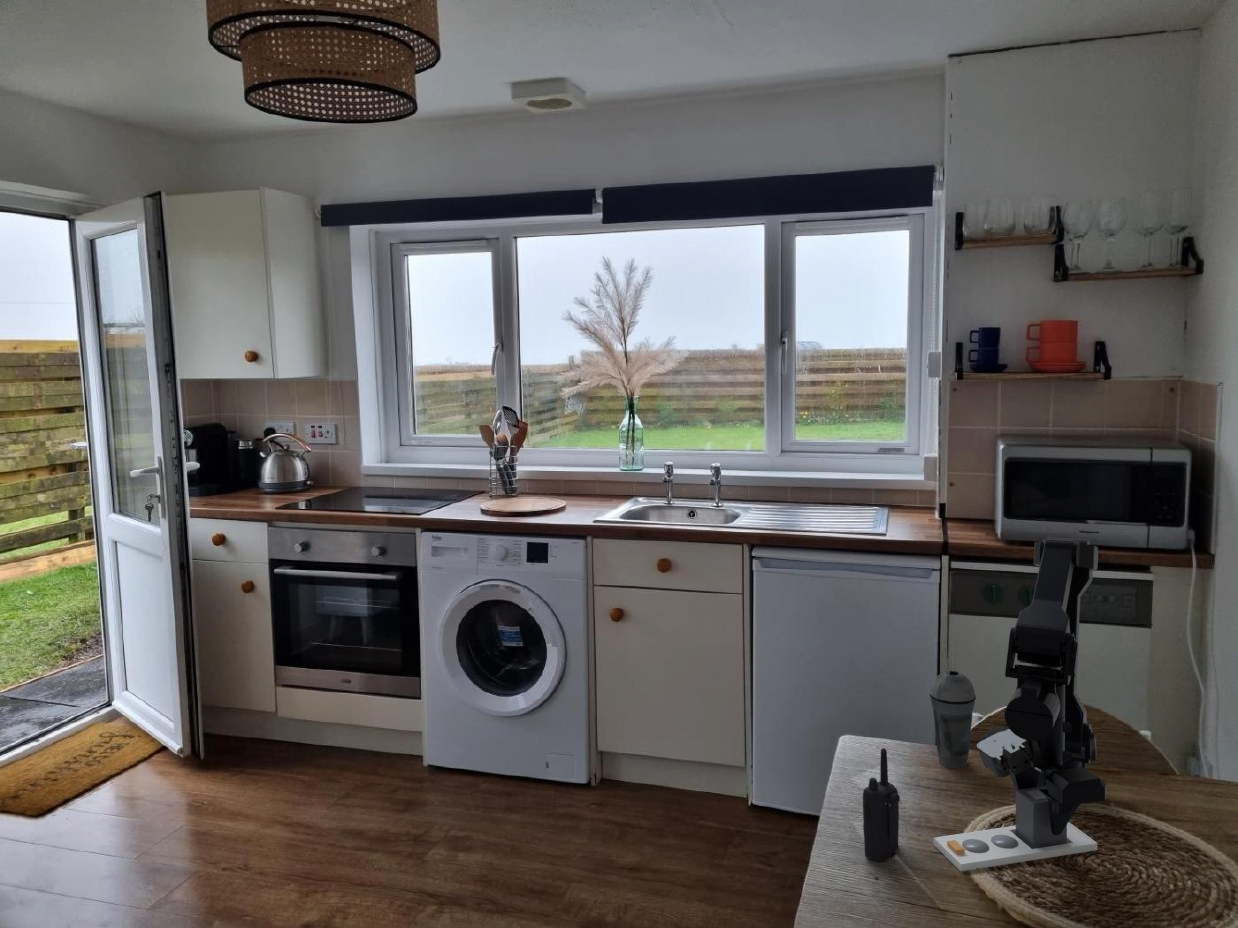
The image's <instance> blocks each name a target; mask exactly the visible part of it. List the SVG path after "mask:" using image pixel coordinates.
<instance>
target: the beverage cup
mask: <svg viewBox="0 0 1238 928" xmlns="http://www.w3.org/2000/svg"><path fill="white" fill-rule="evenodd" d="M942 649H943V650H942V651H943V657H944V663H945V664H944V666H945V671H943V672H940V674H938V675H937V676H936V677H935V678H934V679H933V681H932V683H931V686H930V687H931V688H930V692H929V697H930V703H931V706H932V707H931V708H932V709H933V719H934V721H933V722H934V730H935V739H936V740H935V741H936V753H937V757H938V762H939V764H940V765H942V766H944V767H947V768H951V769H952V768H953V769H961V768H965V767H967V765H968V759H969V754H970V744H971V743H970V741H971V733H972V732H971V731H972V730H971V729H972V720H973V711H974V707H975V701H976V700H977V699H976V696H977V695H976V694H975V689H974V688H975V687H974V686H973V683H972V681H971V680H970V679H969V678H968V677H967V676H966V675H965V674H963V673H961V672H958V671H956V670H951V669H950V666H949V665H950V664H949V658H948V657H949V656H948V649H947V646H946V645H943V646H942Z"/></svg>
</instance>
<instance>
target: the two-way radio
mask: <svg viewBox="0 0 1238 928" xmlns="http://www.w3.org/2000/svg"><path fill="white" fill-rule="evenodd" d="M887 751H888V750H887V749H886V748H884V747H883V748H881V749H880V763H879V765H880V766H879V767H880V773H879V774H880V775H879V776H880V780H879V781H878V779H877V778H875V777H871V778H869V781H868V786H867V787H865V788H864V789H863V792H862V815H863V816H862V817H863V819H862V820H863V828H862V829H863V841H864V856H865V857H866V858H868V859H869V860H871V861H874V862H875V861H876V862H882V861H886V860H889V859H891V858H892V857H894V856H896V855H897V853H896V851H897V850H898V849H899V828H900V827H899V824H900V823H899V822H900V821H899V820H900V819H899V818H900V817H899V816H900V815H899V814H900V808H899V807H900V806H899V805H900V804H899V803H900V800H901V796H900V795H899V793H898V789H897V787H896V786H895V785H894V784H893V783H890V782H889V774H888V771H889V770H888V769H889V768H888V767H889V766H888V752H887Z"/></svg>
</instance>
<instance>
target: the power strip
mask: <svg viewBox="0 0 1238 928" xmlns="http://www.w3.org/2000/svg"><path fill="white" fill-rule="evenodd" d="M933 845H934V846H935V847H936V849H937V850H939V851H940V852H941V853H942V854H943V855H944V856H945V858H947V859H948V860H949V861H950V863H952V864H953V865H954V867H956V868H957V869H958V870H959V872H966V871H973V870H977V869H976V868H979V869H985V868H991V867H997V866H1005V865H1010V864H1017V863H1023V862H1028V861H1036V860H1041V859H1048V858H1055V857H1061V856H1068V855H1075V854H1079V853H1087V852H1093V851H1098V842H1097V841H1095V839H1092V837H1090V836H1088V835H1087V834H1086V833H1085V832H1083V831H1082V830H1080V829H1079V828H1078V827H1077V826H1076V825H1074V824H1072V823H1071V822H1070V821H1069V822H1068V823H1067V844H1062V845H1056V846H1049V847H1043V848H1036V849H1031V848H1030V847H1029V846H1028V845H1026V844H1025V843H1024V842H1023V841H1022V840H1020V839H1019V838H1018V837H1017V836H1016V824H1015V825H1010V826H1003V827H997V828H996V827H995V828H990V829H984V830H976V831H969V832H961V833H957V834H956V833H955V834H949V835H941V836H938V837H937V836H936V837H933Z"/></svg>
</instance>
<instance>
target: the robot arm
mask: <svg viewBox="0 0 1238 928" xmlns="http://www.w3.org/2000/svg"><path fill="white" fill-rule="evenodd" d="M1033 552H1034V553H1033V555H1034V556H1033V565H1034V566H1036V567H1038V573H1037V577H1036V582H1035V586H1034V590H1033V594H1032V600H1031V604H1030V605H1029V606H1027V607H1026V608H1024V609H1022V610H1020V611H1019V614H1018V616H1017V620H1016V623H1015V626H1011V628H1010V632H1009V638H1008V646H1007V647H1008V648H1007V654H1006V664H1005V670H1004V676H1005V678H1011V679H1016V680H1017V681H1016V682H1017V685H1016V689H1015V691H1014V692H1013V694H1012V696H1011V698H1010V700H1009V701H1008V703H1007V705H1006V707H1005V710H1004V721H1005V723H1006V726H1003V727H995V728H990V729H988V731H987V732H986V733H985V734H984V735H983V740H980V741H979V742H978V743H977V744H976V748H977V750H978V753H979V756H980V759H981V761H982V764H983V766H984V768H986V769H988V770H990V771H991V773H992V772H993V773H994V775H995V776H996V777H998V778H1006V777H1008V776H1010V779H1011V781H1012V784H1013V787H1014V790H1015V791H1016V790H1020V789H1027V788H1034V787H1041V786H1046V788H1047V789H1040V790H1039V791H1040V792H1041V793H1042V794H1043V795H1044V796H1045V797H1046V798H1047V799H1048V802H1049V813H1050V824H1051V830H1052V834H1053V835H1060V834H1061V833H1062V832H1063V830H1064V828H1065V827H1066V825H1067V823H1068V822H1070V820H1071V818H1072V817H1073V816H1074V814H1075V813H1076V810H1077V809H1078V808H1079V806H1080V805H1081V804H1089V803H1097V802H1103V801H1106V799H1107V783H1106V782H1105V781H1103V779H1102V778H1100V777H1099V776H1097V775H1096V774H1094V773H1093V772H1091V771H1089V770H1088V769H1086V765H1090V763H1091V762H1093V761H1096V760H1097V742H1096V741H1097V740H1096V734H1095V733H1094V732H1093V729H1092V724H1090V723H1088V720H1087V717H1088V713H1087V709H1086V708H1085V706H1084V704H1083V702H1082V700H1081V699H1080V697H1079V694H1077V684H1078V683H1077V682H1078V680H1077V679H1078V663H1079V662H1078V660H1079V659H1078V658H1079V638H1080V637H1079V636H1080V613H1081V597H1082V595H1083V594H1084V593H1085V592H1086V590H1087V589H1088V587H1089V586H1090V585H1091V583H1092V582H1093V574H1094V571H1097V570H1098V563H1099V547H1097V546H1096V545H1095V544H1091V543H1090V539H1080V538H1066V537H1065V538H1064V537H1063V538H1062V537H1049V536H1048V537H1047V536H1046V537H1045V539H1042V540H1041V539H1040V541H1039V540H1038V541H1034V551H1033ZM1015 660H1017V662H1019V663H1022V664H1016V663H1015ZM1023 663H1024V664H1030V665H1024V664H1023Z"/></svg>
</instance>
